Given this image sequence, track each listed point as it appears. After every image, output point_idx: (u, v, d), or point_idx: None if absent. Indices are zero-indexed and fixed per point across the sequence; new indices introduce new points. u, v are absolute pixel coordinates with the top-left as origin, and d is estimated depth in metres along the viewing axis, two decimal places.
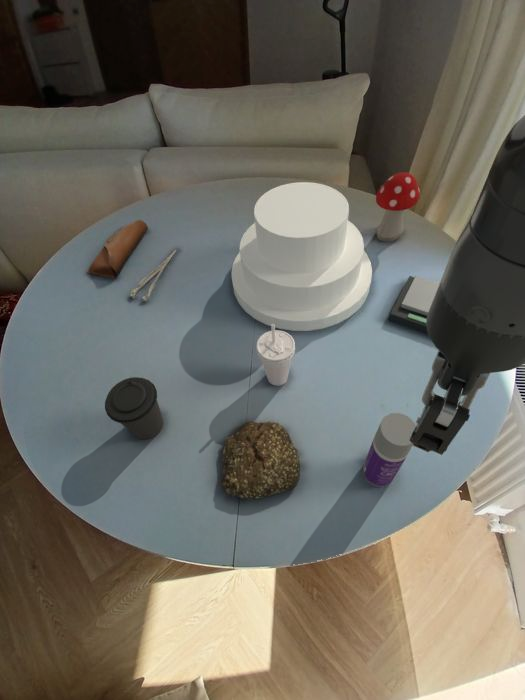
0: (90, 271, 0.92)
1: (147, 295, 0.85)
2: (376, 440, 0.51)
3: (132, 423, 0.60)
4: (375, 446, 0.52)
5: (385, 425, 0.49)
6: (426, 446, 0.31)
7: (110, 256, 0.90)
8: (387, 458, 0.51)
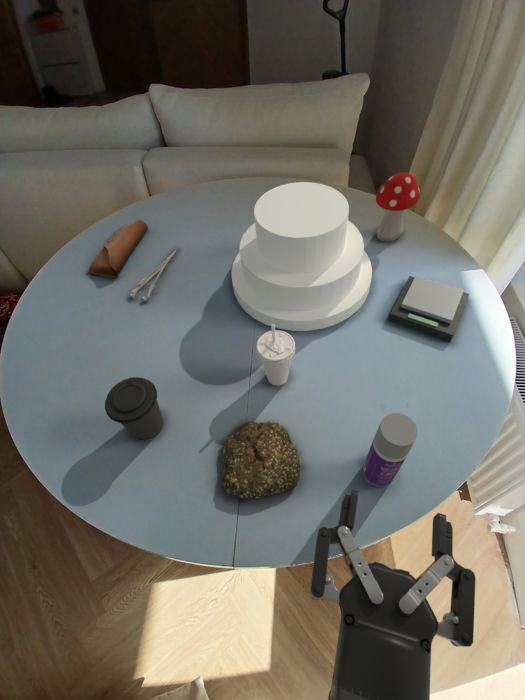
0: (90, 271, 0.92)
1: (147, 295, 0.85)
2: (376, 440, 0.51)
3: (132, 423, 0.60)
4: (375, 447, 0.51)
5: (385, 425, 0.49)
6: None
7: (110, 256, 0.90)
8: (387, 458, 0.51)
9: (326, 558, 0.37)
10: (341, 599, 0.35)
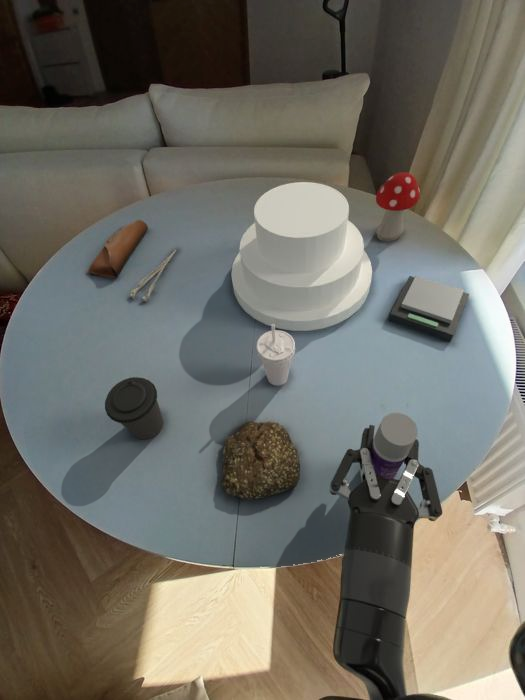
0: (90, 271, 0.92)
1: (147, 295, 0.85)
2: (376, 440, 0.51)
3: (132, 423, 0.60)
4: (375, 446, 0.52)
5: (385, 424, 0.49)
6: None
7: (110, 256, 0.90)
8: (387, 458, 0.51)
9: (347, 468, 0.51)
10: (350, 498, 0.49)
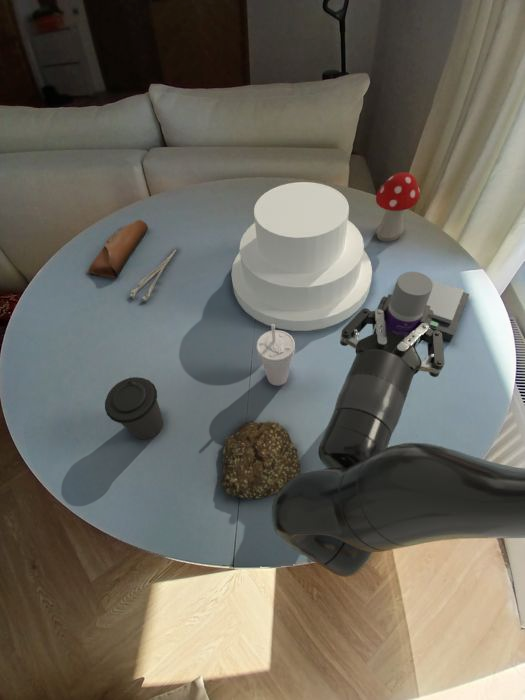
0: (90, 271, 0.92)
1: (147, 295, 0.85)
2: (391, 298, 0.53)
3: (132, 423, 0.60)
4: (390, 306, 0.54)
5: (402, 279, 0.51)
6: None
7: (110, 256, 0.90)
8: (399, 316, 0.53)
9: (360, 321, 0.54)
10: (358, 344, 0.52)
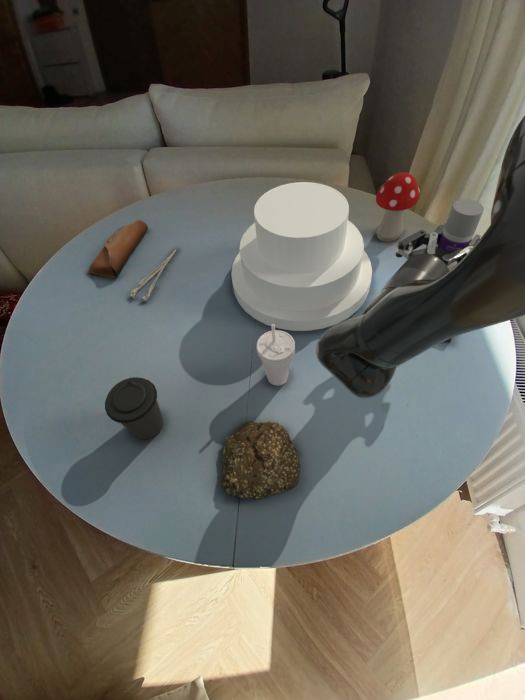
0: (90, 271, 0.92)
1: (147, 295, 0.85)
2: None
3: (132, 423, 0.60)
4: (444, 229, 0.64)
5: (458, 203, 0.61)
6: None
7: (110, 256, 0.90)
8: (450, 236, 0.63)
9: (415, 238, 0.65)
10: (410, 253, 0.63)
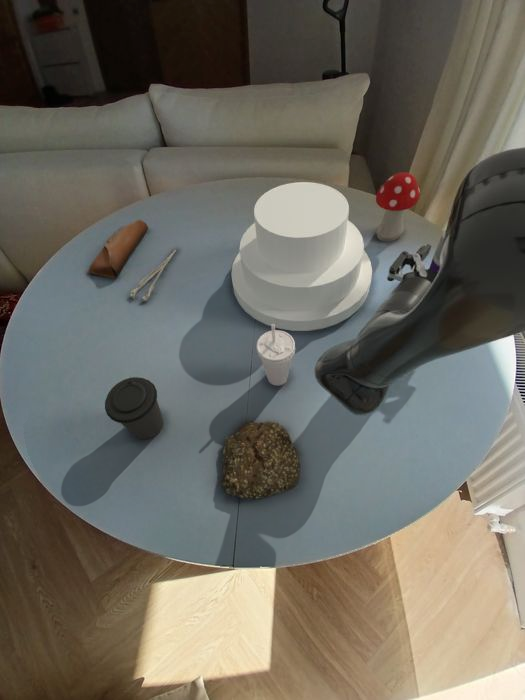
0: (90, 271, 0.92)
1: (147, 295, 0.85)
2: None
3: (132, 423, 0.60)
4: (434, 255, 0.68)
5: None
6: None
7: (110, 256, 0.90)
8: None
9: (402, 260, 0.69)
10: (404, 275, 0.67)
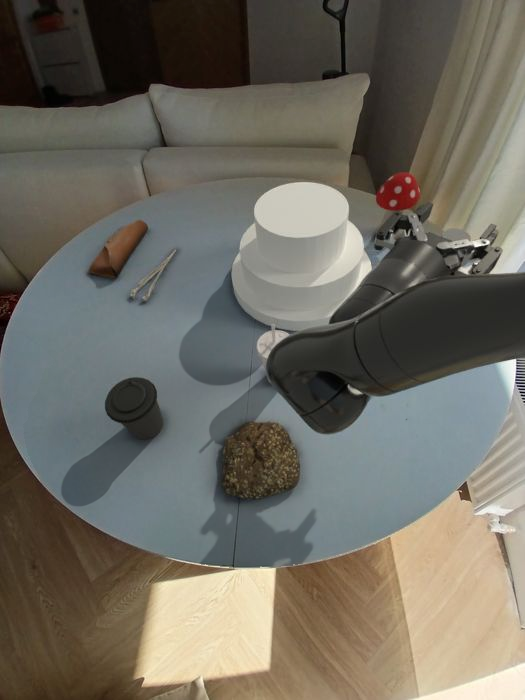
0: (90, 271, 0.92)
1: (147, 295, 0.85)
2: None
3: (132, 423, 0.60)
4: None
5: (446, 232, 0.66)
6: (497, 260, 0.48)
7: (110, 256, 0.90)
8: None
9: (394, 222, 0.52)
10: (396, 241, 0.50)
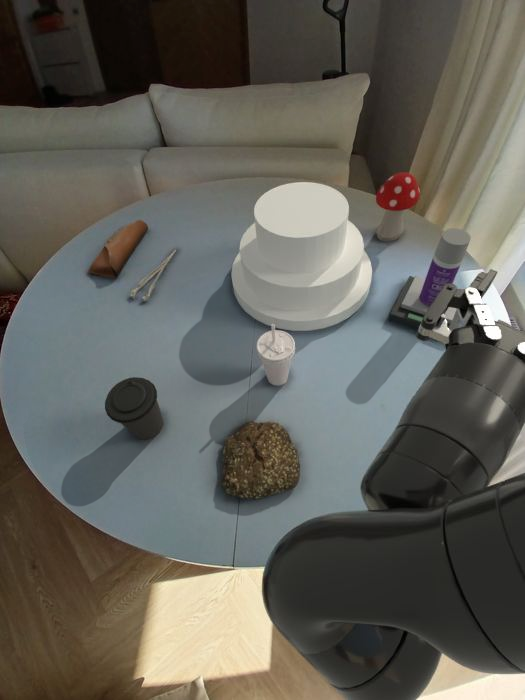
0: (90, 271, 0.92)
1: (147, 295, 0.85)
2: (436, 248, 0.68)
3: (132, 423, 0.60)
4: (434, 255, 0.69)
5: (446, 232, 0.66)
6: None
7: (110, 256, 0.90)
8: (440, 263, 0.67)
9: (446, 302, 0.36)
10: (452, 333, 0.34)
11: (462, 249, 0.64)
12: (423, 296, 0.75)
